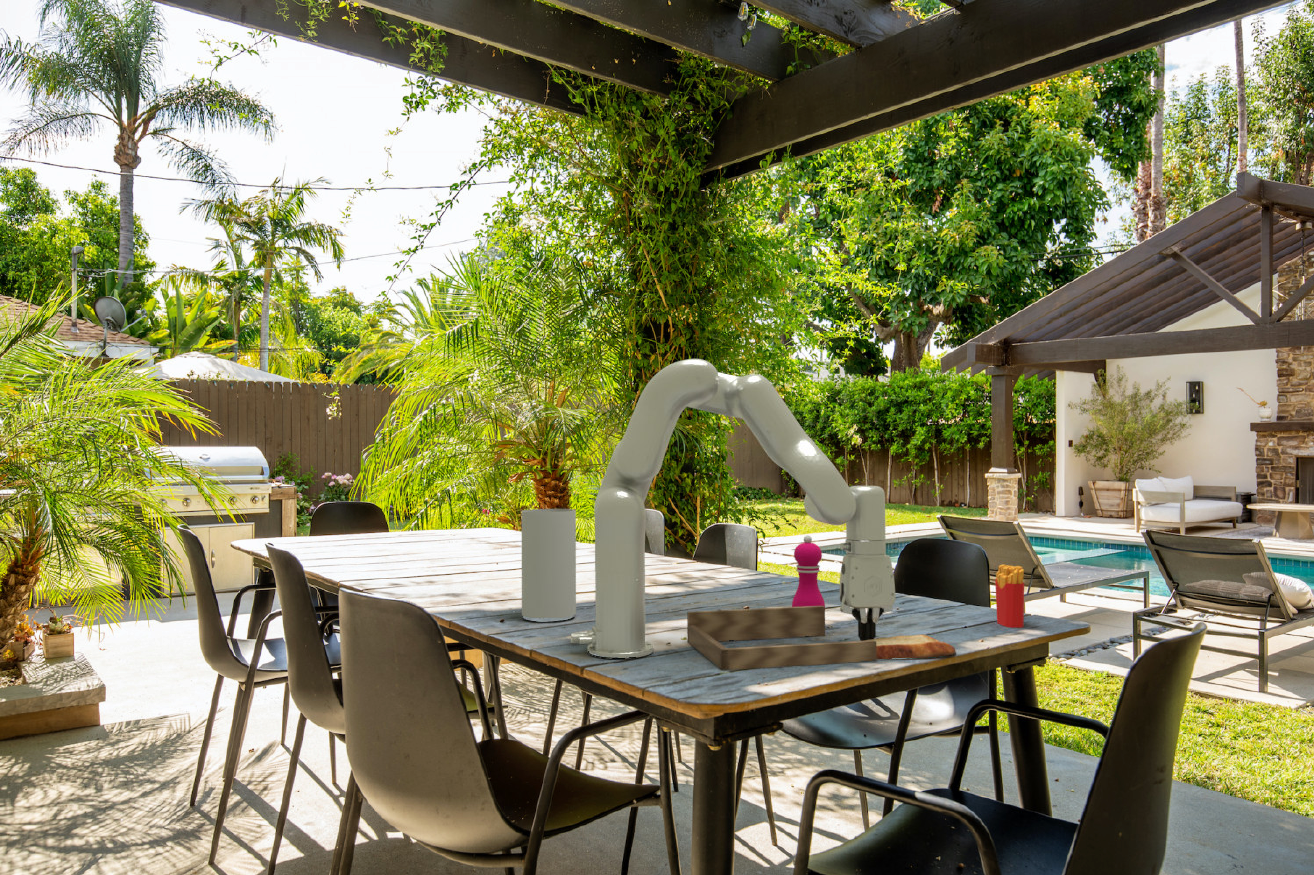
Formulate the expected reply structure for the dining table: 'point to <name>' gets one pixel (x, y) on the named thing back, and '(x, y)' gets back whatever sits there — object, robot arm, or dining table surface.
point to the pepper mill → (808, 574)
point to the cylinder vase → (548, 563)
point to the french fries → (1010, 596)
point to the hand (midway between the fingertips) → (867, 641)
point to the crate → (767, 625)
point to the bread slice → (911, 647)
